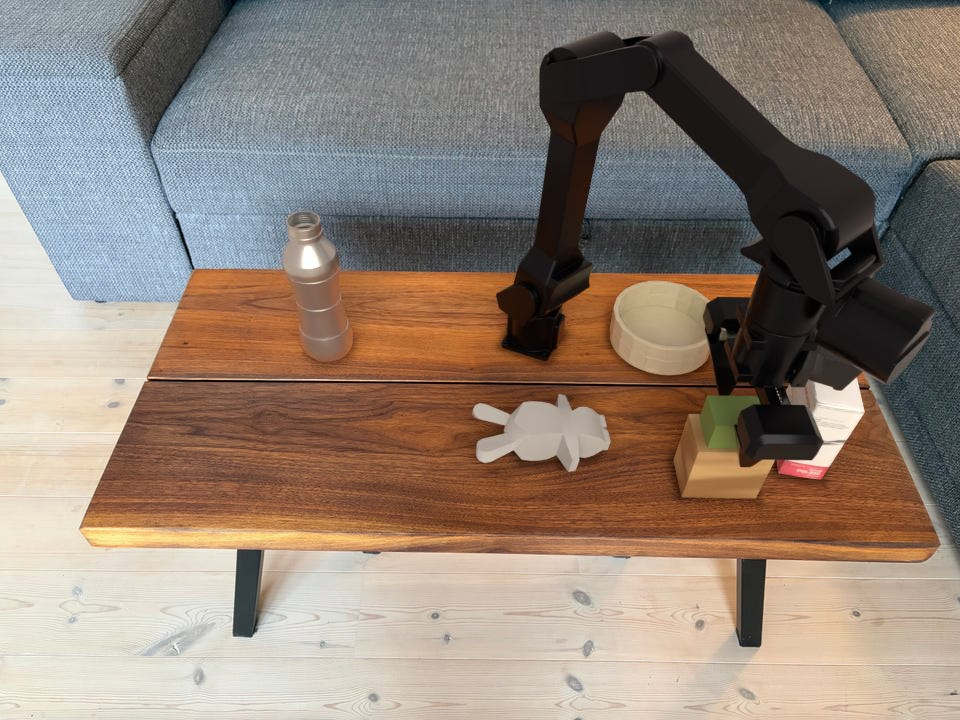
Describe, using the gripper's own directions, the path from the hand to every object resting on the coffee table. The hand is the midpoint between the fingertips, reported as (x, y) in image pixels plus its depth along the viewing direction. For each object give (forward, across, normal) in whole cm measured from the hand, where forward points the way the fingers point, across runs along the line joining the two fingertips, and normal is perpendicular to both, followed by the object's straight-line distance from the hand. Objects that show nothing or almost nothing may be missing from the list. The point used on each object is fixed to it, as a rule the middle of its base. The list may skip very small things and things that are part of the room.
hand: (733, 429), depth 73 cm
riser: (+9, 0, 0) cm, 9 cm away
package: (+1, 0, 0) cm, 1 cm away
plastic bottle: (+9, +19, +45) cm, 50 cm away
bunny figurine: (+9, +4, +19) cm, 21 cm away
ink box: (+9, +4, -10) cm, 14 cm away
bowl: (+9, +22, +2) cm, 24 cm away
